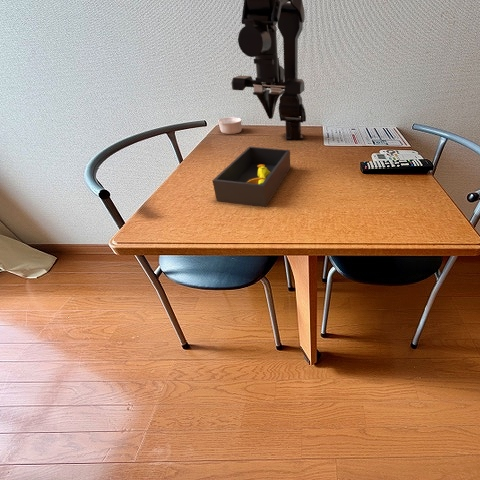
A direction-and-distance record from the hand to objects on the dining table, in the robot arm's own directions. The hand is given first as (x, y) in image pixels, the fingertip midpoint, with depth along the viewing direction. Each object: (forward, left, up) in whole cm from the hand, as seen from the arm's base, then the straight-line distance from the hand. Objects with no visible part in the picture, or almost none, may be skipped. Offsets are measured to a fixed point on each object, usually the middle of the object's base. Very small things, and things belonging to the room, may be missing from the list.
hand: (270, 118), depth 82 cm
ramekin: (-34, -12, -13) cm, 39 cm away
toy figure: (+9, -5, -11) cm, 15 cm away
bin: (+14, -6, -13) cm, 20 cm away
